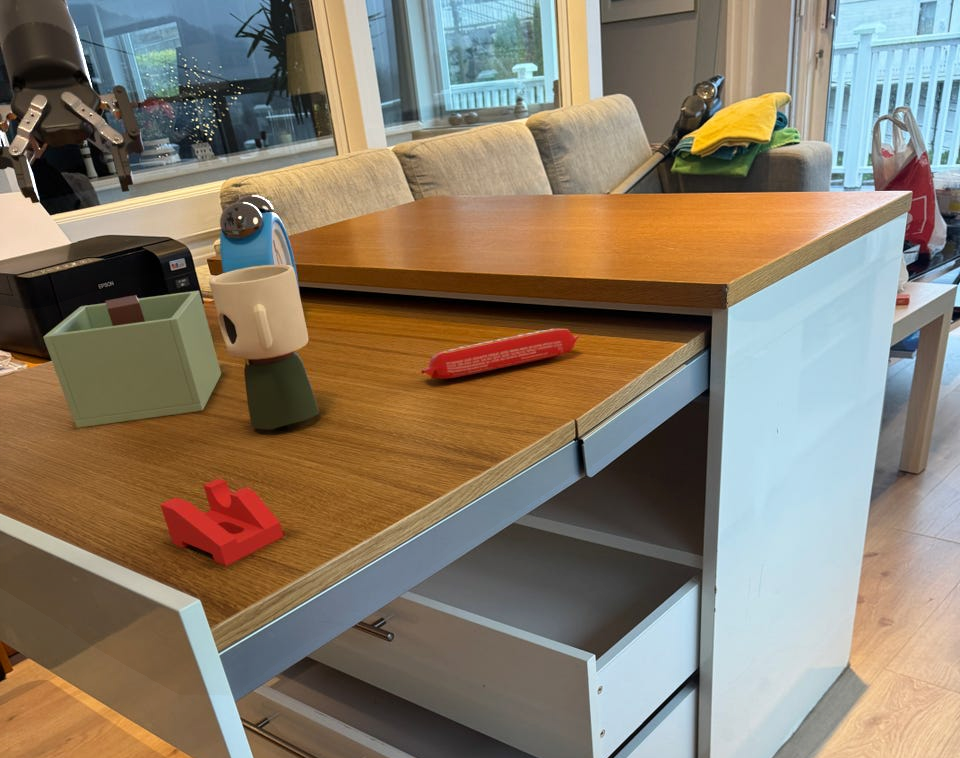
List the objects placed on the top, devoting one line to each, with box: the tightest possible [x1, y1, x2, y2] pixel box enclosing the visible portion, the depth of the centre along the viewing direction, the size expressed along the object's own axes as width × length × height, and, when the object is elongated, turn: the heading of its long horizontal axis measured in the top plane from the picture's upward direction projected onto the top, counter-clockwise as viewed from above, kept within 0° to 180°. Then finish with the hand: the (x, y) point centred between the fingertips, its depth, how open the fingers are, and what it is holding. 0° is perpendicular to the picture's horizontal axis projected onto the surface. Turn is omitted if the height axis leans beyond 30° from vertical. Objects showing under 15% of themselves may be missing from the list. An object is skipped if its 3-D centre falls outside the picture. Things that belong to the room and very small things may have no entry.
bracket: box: [159, 478, 284, 567], centre depth 62 cm, size 6×5×3 cm
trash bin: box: [43, 290, 222, 429], centre depth 90 cm, size 12×12×9 cm
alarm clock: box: [219, 194, 300, 291], centre depth 108 cm, size 13×6×15 cm, turn 0°
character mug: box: [208, 265, 320, 430], centre depth 78 cm, size 11×7×13 cm, turn 13°
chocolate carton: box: [104, 294, 145, 326], centre depth 90 cm, size 4×3×9 cm
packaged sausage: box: [421, 328, 581, 380], centre depth 88 cm, size 16×4×3 cm, turn 109°
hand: (79, 191), depth 88 cm, fingers open, 8 cm apart
